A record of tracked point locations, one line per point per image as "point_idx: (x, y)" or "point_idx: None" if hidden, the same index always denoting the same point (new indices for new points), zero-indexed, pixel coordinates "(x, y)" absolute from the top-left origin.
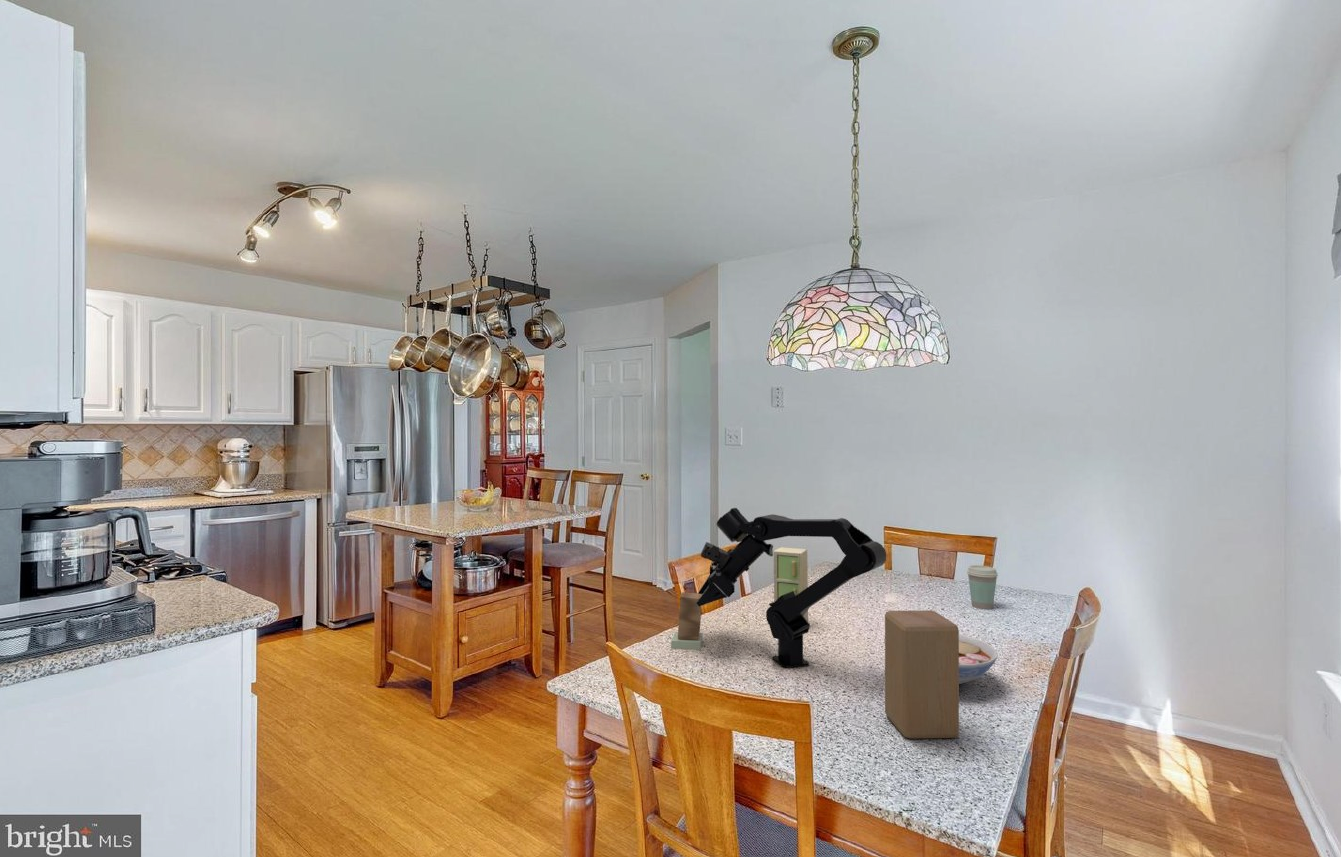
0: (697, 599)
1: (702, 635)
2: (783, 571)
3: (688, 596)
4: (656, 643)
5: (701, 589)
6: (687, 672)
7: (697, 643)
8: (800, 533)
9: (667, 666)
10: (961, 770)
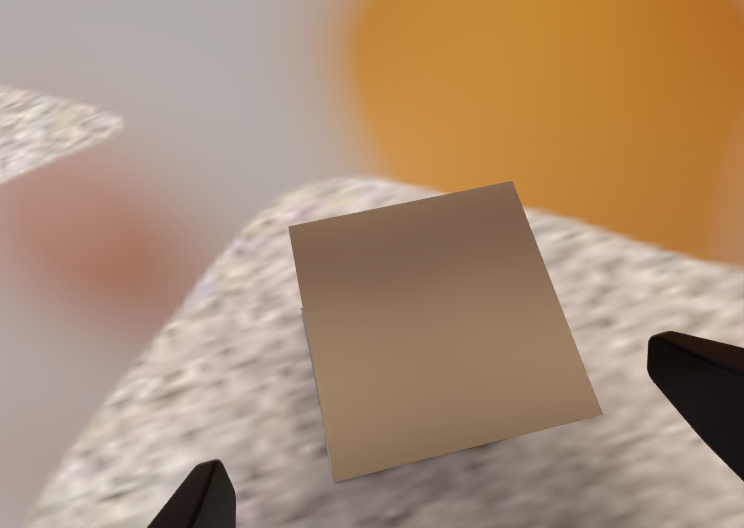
0: (329, 433)
1: None
2: None
3: (366, 297)
4: None
5: (708, 370)
6: (98, 475)
7: (328, 451)
8: None
9: (159, 356)
10: None
